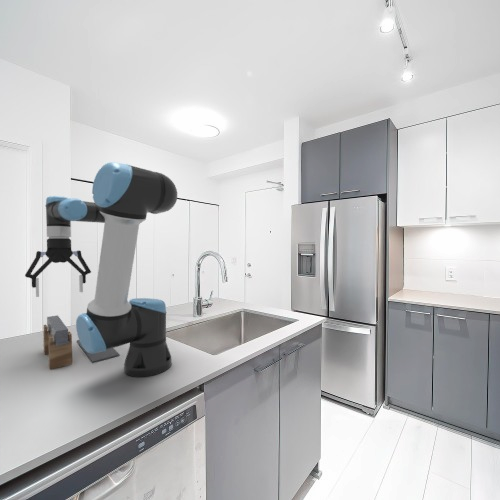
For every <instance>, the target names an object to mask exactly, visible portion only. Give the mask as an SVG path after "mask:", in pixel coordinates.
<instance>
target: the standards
mask: <svg viewBox="0 0 500 500" xmlns="http://www.w3.org/2000/svg"><path fill="white" fill-rule="evenodd" d="M72 335H73V334H72V332H71V331H69V330H68V344H65V345H60V346H55V344H54V342H53V337H52V335H50V334H49V332H48V330H47V324H43V353H44V355H45V356H47V355H48V367H49V370H54V369H58V368H62V367H65V366H69V365H72V364H73V340H72V337H73V336H72Z"/></svg>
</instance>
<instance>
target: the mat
mask: <svg viewBox="0 0 500 500" xmlns="http://www.w3.org/2000/svg"><path fill="white" fill-rule="evenodd" d="M76 343H77V344H78V345H79V347H80V348H81V349H82V351H83V352H84V353H85V355H86V356H87V357H88V359H89V361H90V362H91V363H92V364H94V363H98V362H101V361H105V360H106V361H107V360H108V359H113V358H114V359H115V358H116V357H120V353H119V352H118V351H117V350H116V349H115V348H111V349H108V350H106V351H101V352H98V353H93V354H92V353H88V352H87V351H86V350H85V349H84V348H83V347H82V345H81V343H80V341H79V339H77V340H76Z"/></svg>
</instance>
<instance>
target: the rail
mask: <svg viewBox="0 0 500 500" xmlns="http://www.w3.org/2000/svg"><path fill="white" fill-rule="evenodd" d="M46 325H47V331H48V332H49V334H50V335H52V337H53V342H54V344H55V346H60V345H65V344H68V332H69V329H68V327H67V326H66V325H65V323H64V322H63V320H62V319H61V318H60V316H59V315H58V314H57V315H52V316H46Z"/></svg>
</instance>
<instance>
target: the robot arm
mask: <svg viewBox="0 0 500 500" xmlns="http://www.w3.org/2000/svg"><path fill="white" fill-rule="evenodd" d="M91 191H92V192H91V193H92V194H93V195H92V200H93V201H85V200H81V199H80V198H79V199H78V198H71V197H70V198H68V197H66V196H59V195H52V196H51V195H50V196H47V197H46V199H45V200H46V201H45V212H46V214H45V215H46V216H45V221H46V238H47V239H46V251H39V250H37V251H36V253H35V257H34V260H33V261H32V262H31V264H30V266H29V268H27V271H26V273H25V275H24V277H25V278H28V279H30V280H31V288H32V289H35V297H36V298H39V297H40V279H39V277H38V276H39V275H40V274H42V273H43V271H45V269H46V268H47V267H48V266H50V264H51V263H54V264H57V263H62V264H64V263H69V265H71V266H72V267H73V268H74V269H75V270H76V271H77V272H78V273H80V275H79V276H78V282H79V283H78V285H79V286H78V287H79V293H84V285H83V284H86V283H87V277H86V276H87V275H88V274H91V273H92V271H91V269H90V267H89V266H88V264H87V263H86V261H85V259H84V258H83V256H82V251H81V250H75V251H73V250H72V240H71V237H72V228H71V227H72V224H71V223H72V222H81V223H82V222H85V223H100V224H101V223H102V224H104V226H103V232H102V233H103V234H102V240H101V241H102V242H101V248H100V253H99V254H100V255H99V263H98V270H97V271H98V272H97V278H96V285H95V294H94V299H92V300H91V301H89V303H87V308H86V313H85V312H84V313H83V312H82V313H81V314H79V315H78V316H77V318H76V321H75V328H76V333H77V338H78V340H79V341H80V343H81V345H82V347H83V348H84V349H85V350H86V351H87V352H88V353H92V354H93V353H98V352H101V351H106V350H108V349H111V348H114V349H115V348H118V347H121V346H124V345H127V344H129V347H128V350H127V354H126V357H125V360H124V363H123V371H124V373H125V375H128V376H130V377H133V378H134V377H135V378H142V377H150V376H154V375H155V376H156V375H159V374H160V373H163V372H165V371H167V370H168V369H169V368H171V366H172V355H171V352H170V348H169V347H168V344H167V308H166V307H167V306H166V303H165V301H164V300H163V299H158V298H146V297H143V298H137V297H136V298H131V299H129V300H128V298H129V290H130V286H131V280H132V273H133V264H134V261H135V260H134V259H135V253H136V247H137V241H138V235H139V229H140V224H141V223H143V222H144V221H146V220H147V216H148V214H149V213H150V214H152V215H156V214H161V213H165V212H169V211H170V210H171V209H173V208H174V206H175V204H176V203H177V200H178V189H177V187H176V185H175V183H174V181H173V180H172V179H171V178H169V176H167V175H165V174H163V173H162V172H157V171H152V170H149V169H145V168H141V167H137V166H133V165H131V164H128V163H120V162H115V161H111V162H110V161H109V162H107V163H105V164H103V165H101V167H100V168H99V170H98V171H97V173H96V175H95V176H94V179H93V183H92V190H91ZM73 255H74V256H75V257H77V259H78V260H79V262H80V264H81V265H82V267H83V268H84V270H85V271H84V270H83V269H82V268H81V267H80V266H79V265H78V264H77V263H76V262H74V260H73V259H72V258H71V257H72V256H73ZM44 256H45V257H47V258H48V259H47V260H46V261H44V263H43V264H42V265H41V266H40V267H39V268H38V269H37V270H36V271H35V272H34V273H33V274H32V272H33V271H34V269H35V268H36V266H37V264H38V263H39V261H40V260H41V258H43V257H44Z"/></svg>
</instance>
